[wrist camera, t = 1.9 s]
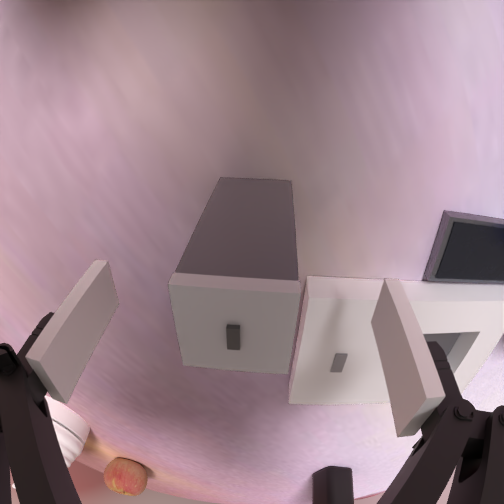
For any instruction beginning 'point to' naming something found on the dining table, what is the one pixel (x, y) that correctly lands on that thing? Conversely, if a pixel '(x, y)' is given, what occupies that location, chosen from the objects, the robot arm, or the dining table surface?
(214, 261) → the plug
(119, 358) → the dining table surface
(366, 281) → the cabinet panel
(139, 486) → the apple
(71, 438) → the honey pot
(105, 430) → the dining table surface
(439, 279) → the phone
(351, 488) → the wine bottle
